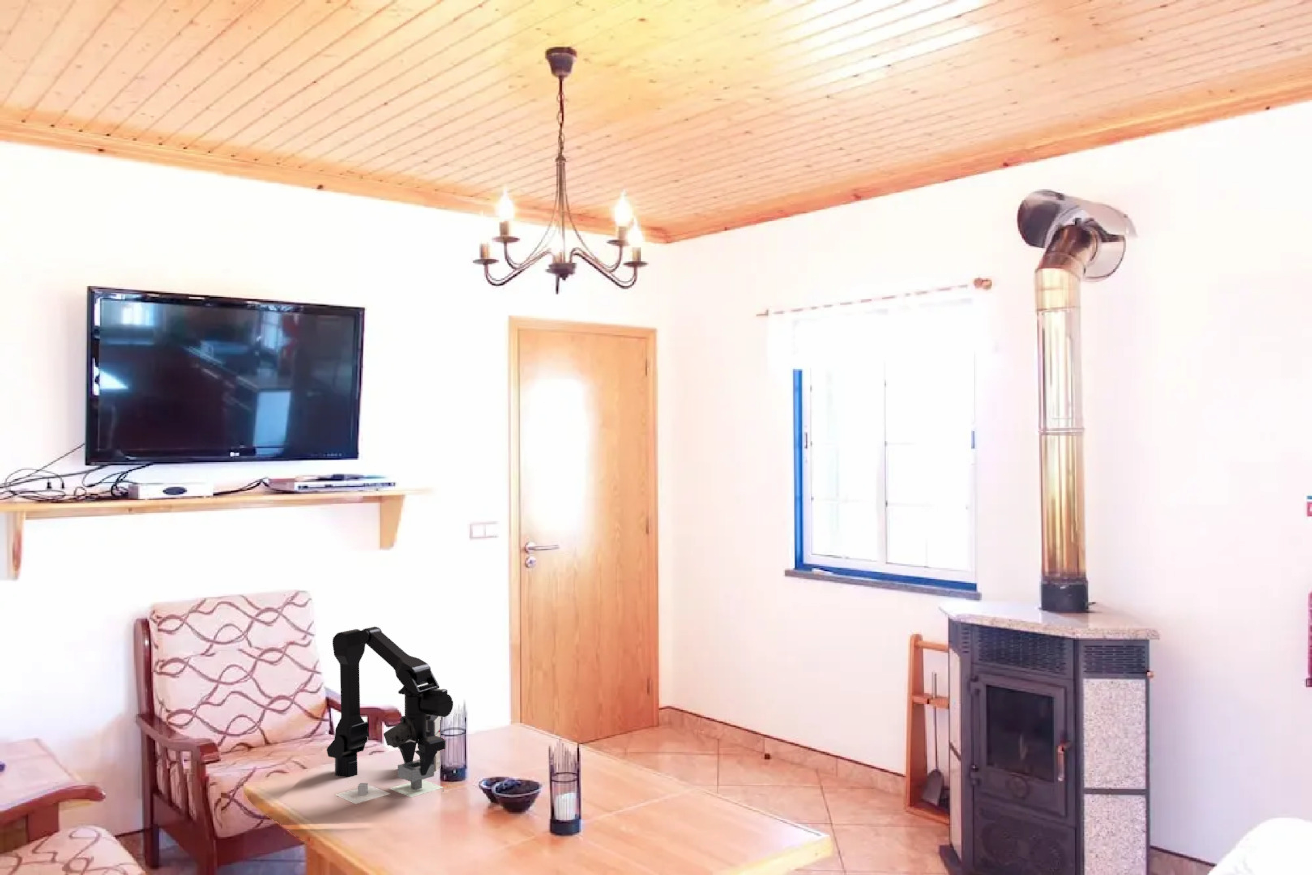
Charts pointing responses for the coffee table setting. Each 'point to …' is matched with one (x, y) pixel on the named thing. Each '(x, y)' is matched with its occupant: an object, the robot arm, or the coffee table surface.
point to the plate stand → (362, 793)
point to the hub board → (415, 792)
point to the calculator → (434, 727)
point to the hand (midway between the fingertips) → (416, 772)
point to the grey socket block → (414, 771)
